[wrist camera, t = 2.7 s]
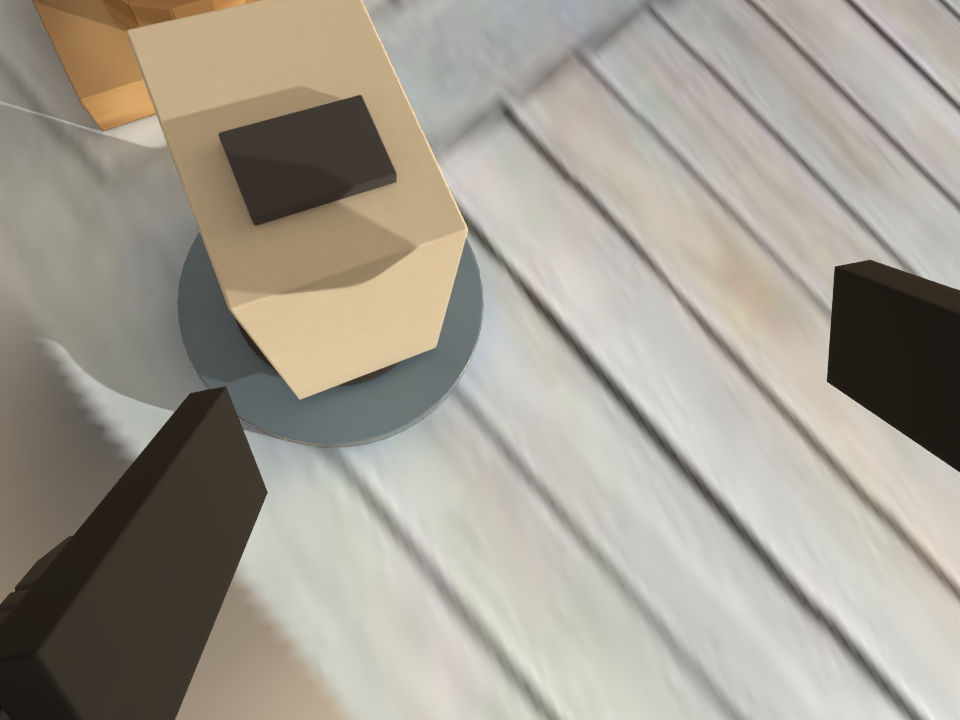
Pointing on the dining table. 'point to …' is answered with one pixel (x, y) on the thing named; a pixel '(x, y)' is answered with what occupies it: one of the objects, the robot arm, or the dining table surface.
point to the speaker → (307, 184)
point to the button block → (111, 49)
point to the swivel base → (338, 409)
